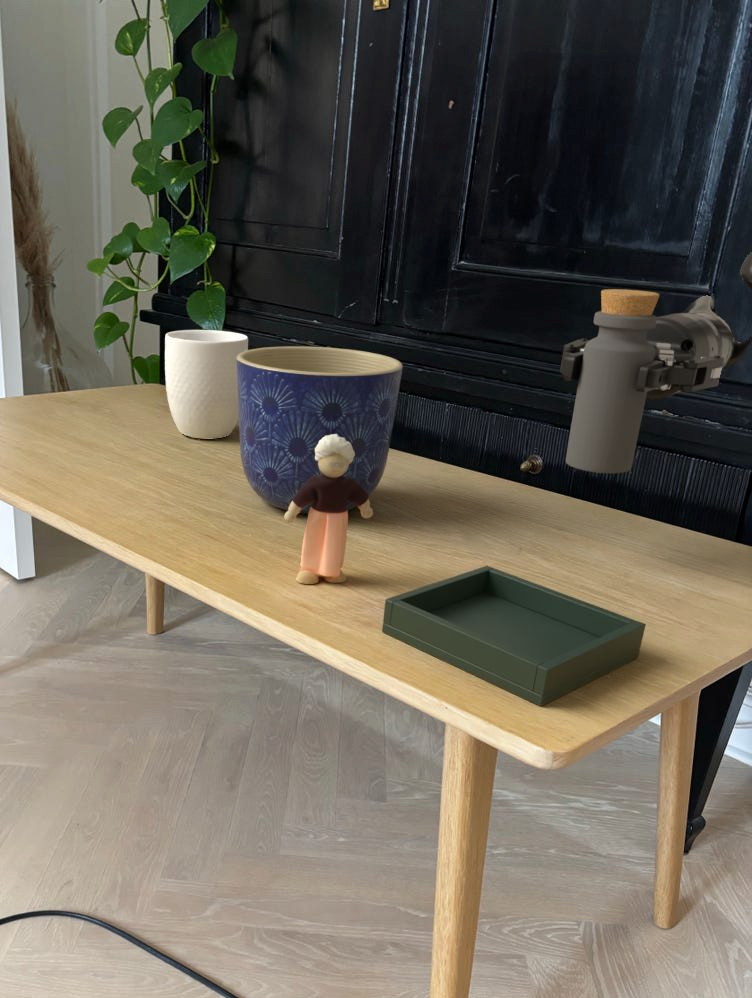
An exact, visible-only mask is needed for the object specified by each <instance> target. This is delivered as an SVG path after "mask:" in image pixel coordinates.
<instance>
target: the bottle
mask: <svg viewBox="0 0 752 998" xmlns="http://www.w3.org/2000/svg"><path fill="white" fill-rule="evenodd" d="M600 296H601V297H600V299H601V303H600V304H601V310H600V311H596V312H595V313H594V316H593V324H594V325H595V326H597V327H598V333H597V336H596V337H594V338H592V339H590V340H589V342H587V343H586V345H585V349H584V355H583V360H582V365H581V371H580V377H579V380H578V384H577V388H576V396H575V400H574V406H573V412H572V417H571V418H572V419H571V423H570V430H569V436H568V442H567V449H566V453H565V454H566V455H565V463H566V465H568V466H570V467H571V468H575V469H577V470H580V471H585V472H590V473H598V474H622V473H627V472H629V471H631V469H632V467H633V462H634V458H635V452H636V447H637V442H638V438H639V434H640V429H641V423H642V419H643V415H644V414H643V413H644V411H645V410H644V409H645V405H646V399H647V398H646V395H647V392H639V391H636V386H637V381H638V376H639V371H640V368H641V366H642V365H643V364H646V363H650V362H653V360H654V355H655V349H654V347H653V346H652V345H651V344H650V343H649V342H648V341H646V337H647V332H648V330H650V329H654V328H655V327H656V323H657V317H658V316H656V315H655V314H653V313H654V310H655V308H656V305H657V303H658V300H659V298H660V294H659V293H657V292H654V291H647V290H637V289H619V288H618V289H617V288H615V289H614V288H612V289H611V288H608V289H602V290H601V292H600Z"/></svg>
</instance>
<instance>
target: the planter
mask: <svg viewBox="0 0 752 998" xmlns="http://www.w3.org/2000/svg"><path fill="white" fill-rule="evenodd" d="M236 361H237V385H238V408H239V418H238V427H239V429H238V430H239V450H240V460H241V464H242V468H243V473H244V475H245V478H246V480H247V483H248V484H249V487H251V489H252V490H253V491H254V493H255V494H256V495H257V496H258V497H259V499H261V500H263V501H264V502H266V503H267V504H268V505H271V506H273V507H275V508H278V509H281V510H284V511H286V512H287V511H288V508H289V506H290V504H291V502H292V499H293V497H294V496H295V495H296V493H297V492H298V491H299V490H300V489H301V488H302V486H303V485H304V484H305V483H306V482H307V481H308V480H309V479H310V478H311V477H313V476H317V475H321V474H323V473H322V472H321V471H320V469H319V466H318V461H316V460H315V456H316V455H315V448H316V446H317V445H318V443H319V441H320V440H321V439H322V438H323V437H325V436H328V435H331V434H332V435H333V434H338V436H339V437H342V438H345V440H346V441H348V442H350V443H351V445H352V448H353V450H354V452H355V456H354V458H353V461H352V462H351V463H350V464H349V466H348V469H347V471H346V472H345V473H344V474H343V475H342V476H345V477H348V478H351V479H352V480H354V481H356V482H357V483H359V484H360V485H361V486H362V487H363V488H364V490H365V491H366V492H367V493H368V495H369V497H370V496H371V495H372V494H373V493H375V490H376V489H377V488H378V486H379V484H380V482H381V480H382V477H383V475H384V473H385V470H386V466H387V462H388V458H389V451H390V446H391V440H392V433H393V427H394V422H395V415H396V410H397V404H398V398H399V393H400V387H401V381H402V375H403V369H404V366H403V363H401V361H400V360H398V359H396V358H393V357H390V356H387V355H384V354H380V353H374V352H369V351H363V350H357V349H348V348H339V347H327V346H326V347H323V346H322V347H321V346H297V345H296V346H295V345H294V346H293V345H292V346H270V347H268V346H267V347H259V348H258V347H257V348H252V349H248V350H247V351H244V352H242V353H240V354H239V355H238V356H237V358H236ZM356 507H358V506H357V505H355V504H352V503H349V502H347V511H349V510H352V509H354V508H356ZM310 508H311V504H309V505H306V506H304V507H302V509H301V510H300V512H299V513H298V514H306V515H308V514H309V511H310Z"/></svg>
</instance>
